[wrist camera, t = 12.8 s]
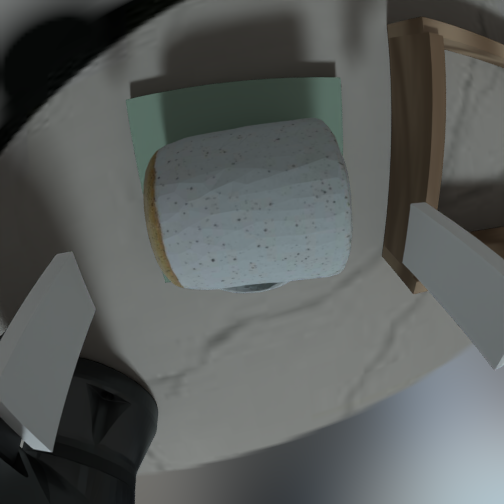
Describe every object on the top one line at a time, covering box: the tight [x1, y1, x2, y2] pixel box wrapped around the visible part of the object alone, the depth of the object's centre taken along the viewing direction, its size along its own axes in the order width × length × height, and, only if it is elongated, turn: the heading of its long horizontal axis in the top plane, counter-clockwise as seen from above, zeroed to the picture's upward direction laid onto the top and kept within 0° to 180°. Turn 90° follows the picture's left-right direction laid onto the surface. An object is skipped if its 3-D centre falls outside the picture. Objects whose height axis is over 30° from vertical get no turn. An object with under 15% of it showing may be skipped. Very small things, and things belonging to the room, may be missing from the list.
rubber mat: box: [126, 77, 343, 283], centre depth 18 cm, size 12×12×1 cm
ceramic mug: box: [143, 118, 352, 293], centre depth 15 cm, size 11×8×8 cm
